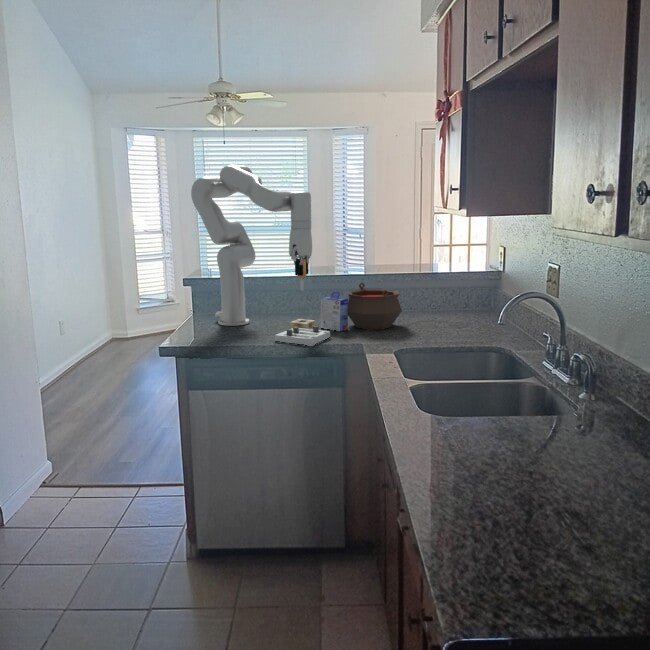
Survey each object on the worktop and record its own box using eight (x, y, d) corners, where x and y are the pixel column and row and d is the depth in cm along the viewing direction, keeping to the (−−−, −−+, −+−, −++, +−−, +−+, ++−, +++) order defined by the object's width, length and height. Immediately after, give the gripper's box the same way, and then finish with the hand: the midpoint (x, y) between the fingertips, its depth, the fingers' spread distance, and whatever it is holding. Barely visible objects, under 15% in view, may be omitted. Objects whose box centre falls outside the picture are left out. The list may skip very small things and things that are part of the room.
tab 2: (289, 334, 239) (289, 327, 238) (292, 333, 241) (292, 326, 240) (299, 335, 237) (299, 328, 237) (302, 334, 239) (302, 327, 238)
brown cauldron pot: (414, 329, 254) (415, 287, 250) (357, 335, 245) (357, 291, 242) (386, 318, 276) (386, 279, 272) (333, 322, 267) (333, 283, 263)
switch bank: (275, 341, 235) (274, 334, 235) (295, 333, 247) (294, 327, 247) (311, 346, 228) (311, 338, 228) (330, 338, 240) (330, 330, 240)
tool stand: (290, 332, 250) (290, 322, 249) (299, 328, 256) (299, 318, 255) (306, 334, 247) (306, 323, 246) (315, 330, 253) (315, 320, 252)
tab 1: (283, 337, 235) (283, 329, 234) (286, 336, 237) (286, 328, 236) (292, 338, 233) (292, 330, 233) (295, 337, 235) (295, 329, 234)
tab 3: (309, 333, 240) (309, 326, 240) (312, 332, 242) (312, 325, 241) (319, 334, 238) (319, 327, 238) (321, 333, 240) (321, 326, 239)
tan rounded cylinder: (296, 291, 247) (295, 259, 245) (300, 289, 250) (300, 258, 248) (303, 291, 246) (303, 259, 243) (307, 290, 249) (307, 258, 246)
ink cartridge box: (348, 329, 254) (348, 292, 251) (340, 332, 250) (340, 294, 247) (328, 326, 260) (328, 290, 257) (320, 328, 256) (319, 292, 253)
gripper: (303, 224, 252) (303, 271, 256) (280, 226, 238) (281, 276, 242) (320, 224, 248) (320, 272, 252) (298, 227, 234) (299, 278, 238)
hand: (301, 274), depth 247 cm, fingers closed on tan rounded cylinder, 3 cm apart
